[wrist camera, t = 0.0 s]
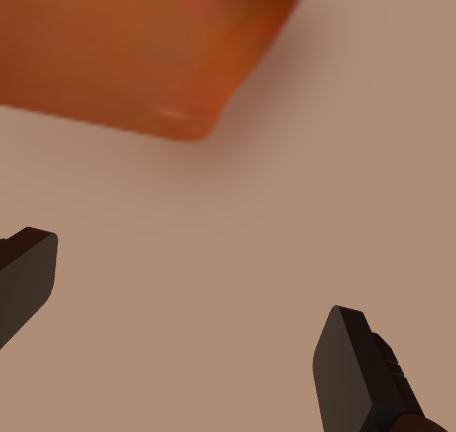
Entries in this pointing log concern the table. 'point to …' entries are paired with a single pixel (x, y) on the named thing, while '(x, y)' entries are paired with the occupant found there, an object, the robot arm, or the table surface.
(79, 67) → the table surface
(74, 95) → the table surface
